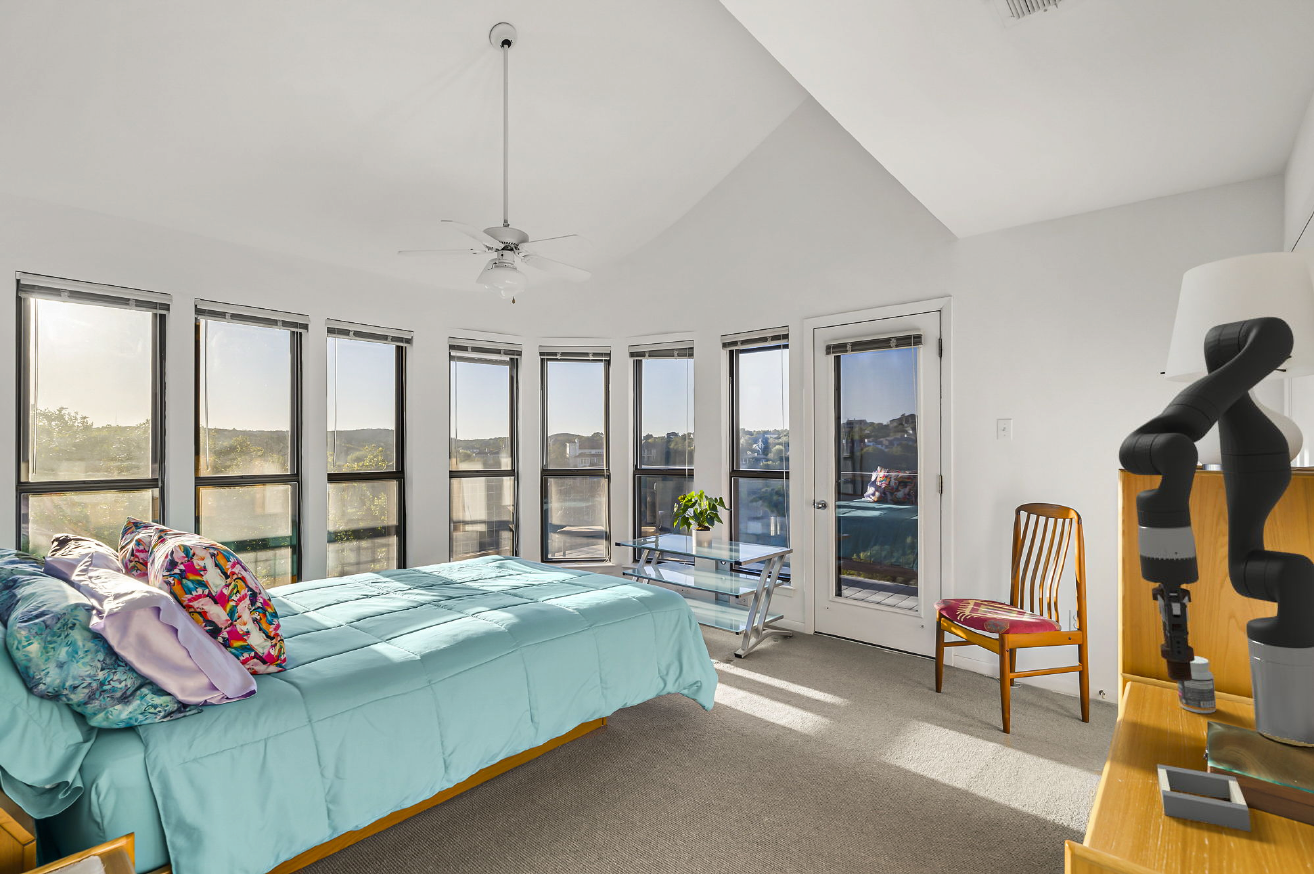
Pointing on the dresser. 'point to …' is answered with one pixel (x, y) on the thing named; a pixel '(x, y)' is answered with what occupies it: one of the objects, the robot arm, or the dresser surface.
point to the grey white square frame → (1201, 807)
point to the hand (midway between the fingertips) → (1177, 653)
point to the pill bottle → (1198, 688)
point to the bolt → (1176, 668)
